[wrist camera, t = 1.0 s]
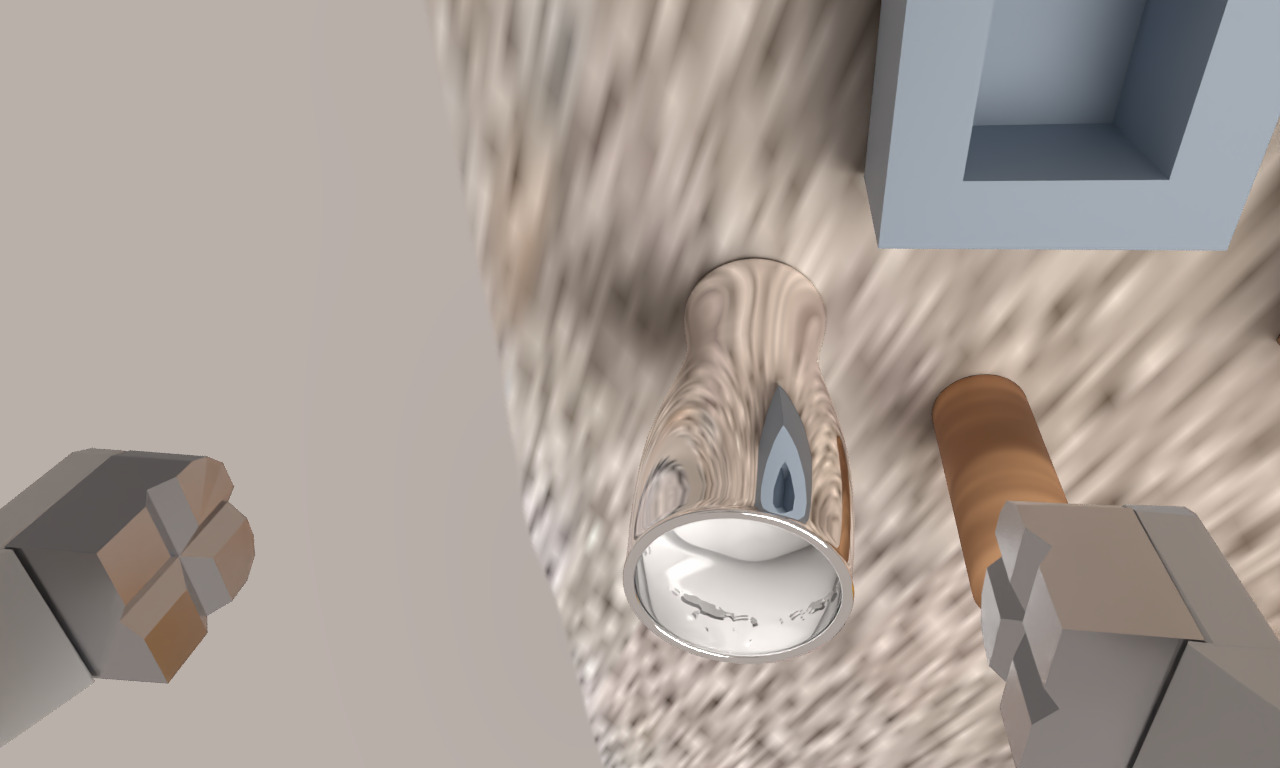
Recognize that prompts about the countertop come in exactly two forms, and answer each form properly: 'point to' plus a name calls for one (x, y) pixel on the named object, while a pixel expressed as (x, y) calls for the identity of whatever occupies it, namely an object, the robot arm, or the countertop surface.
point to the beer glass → (745, 479)
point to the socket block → (1069, 122)
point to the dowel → (989, 462)
